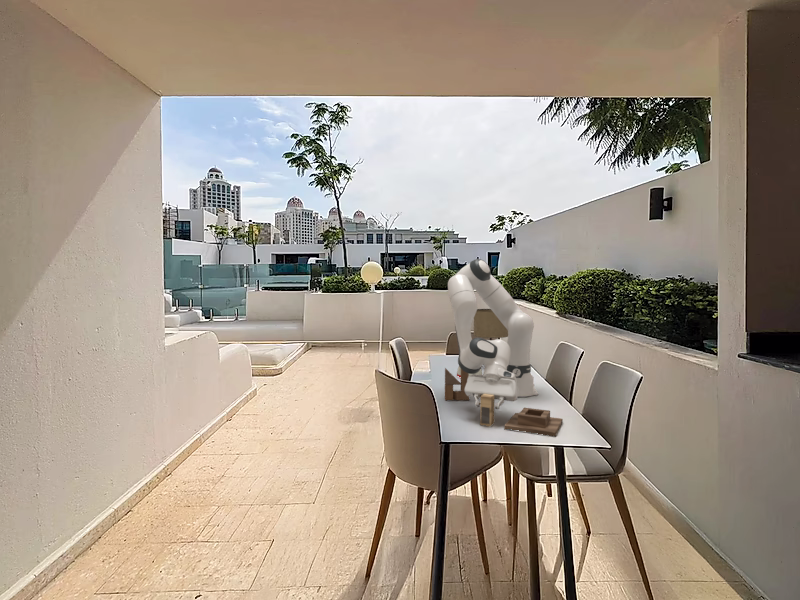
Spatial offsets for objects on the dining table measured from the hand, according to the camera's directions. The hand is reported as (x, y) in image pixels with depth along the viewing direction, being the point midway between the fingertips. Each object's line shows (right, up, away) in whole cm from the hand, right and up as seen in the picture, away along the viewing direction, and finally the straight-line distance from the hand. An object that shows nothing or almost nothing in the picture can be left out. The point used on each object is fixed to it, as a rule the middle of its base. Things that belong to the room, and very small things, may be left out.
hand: (487, 407), depth 185 cm
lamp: (+21, -1, +106) cm, 108 cm away
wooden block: (-7, -5, +36) cm, 37 cm away
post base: (+17, -7, -1) cm, 19 cm away
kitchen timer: (+5, -2, +84) cm, 85 cm away
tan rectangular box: (0, -7, +1) cm, 7 cm away
